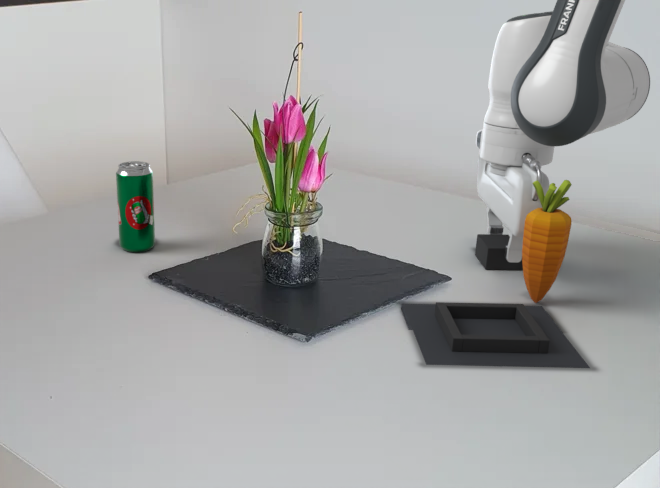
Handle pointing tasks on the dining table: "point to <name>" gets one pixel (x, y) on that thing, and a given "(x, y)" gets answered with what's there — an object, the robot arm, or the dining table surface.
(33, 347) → the dining table surface
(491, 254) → the black block
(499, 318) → the socket mat
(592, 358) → the dining table surface
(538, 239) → the carrot
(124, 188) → the soda can
